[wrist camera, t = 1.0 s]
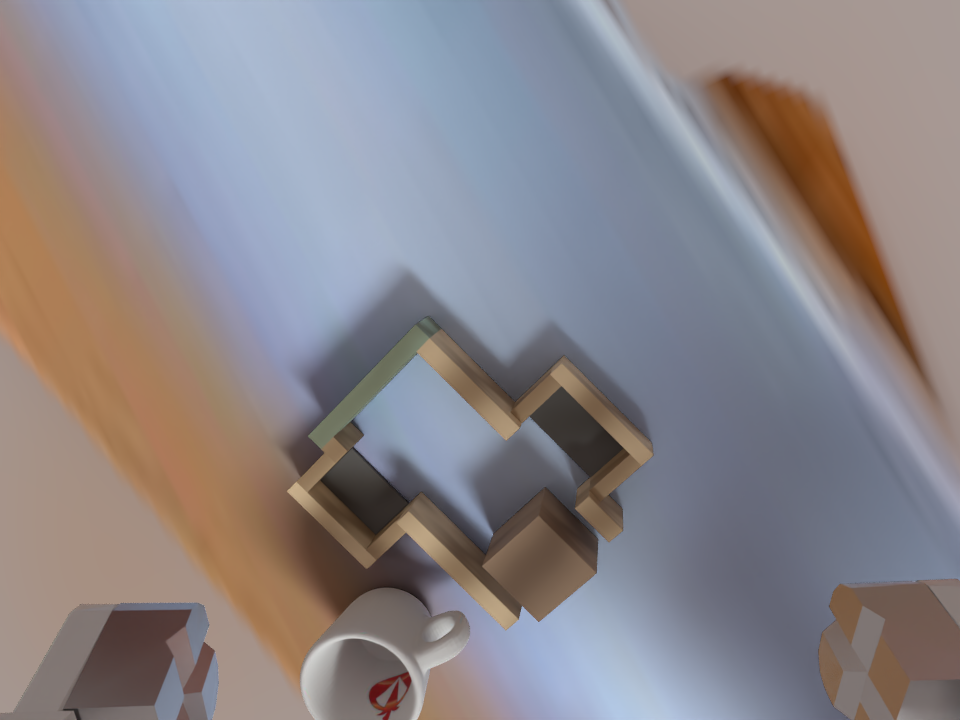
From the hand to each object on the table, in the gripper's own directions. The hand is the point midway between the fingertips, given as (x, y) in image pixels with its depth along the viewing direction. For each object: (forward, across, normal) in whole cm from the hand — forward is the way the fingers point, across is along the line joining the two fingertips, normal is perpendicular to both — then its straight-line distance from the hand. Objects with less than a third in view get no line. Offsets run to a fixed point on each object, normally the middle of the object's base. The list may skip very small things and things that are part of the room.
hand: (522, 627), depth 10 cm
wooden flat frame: (+37, 0, -23) cm, 44 cm away
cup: (+35, -4, -35) cm, 49 cm away
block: (+35, +5, -28) cm, 45 cm away
